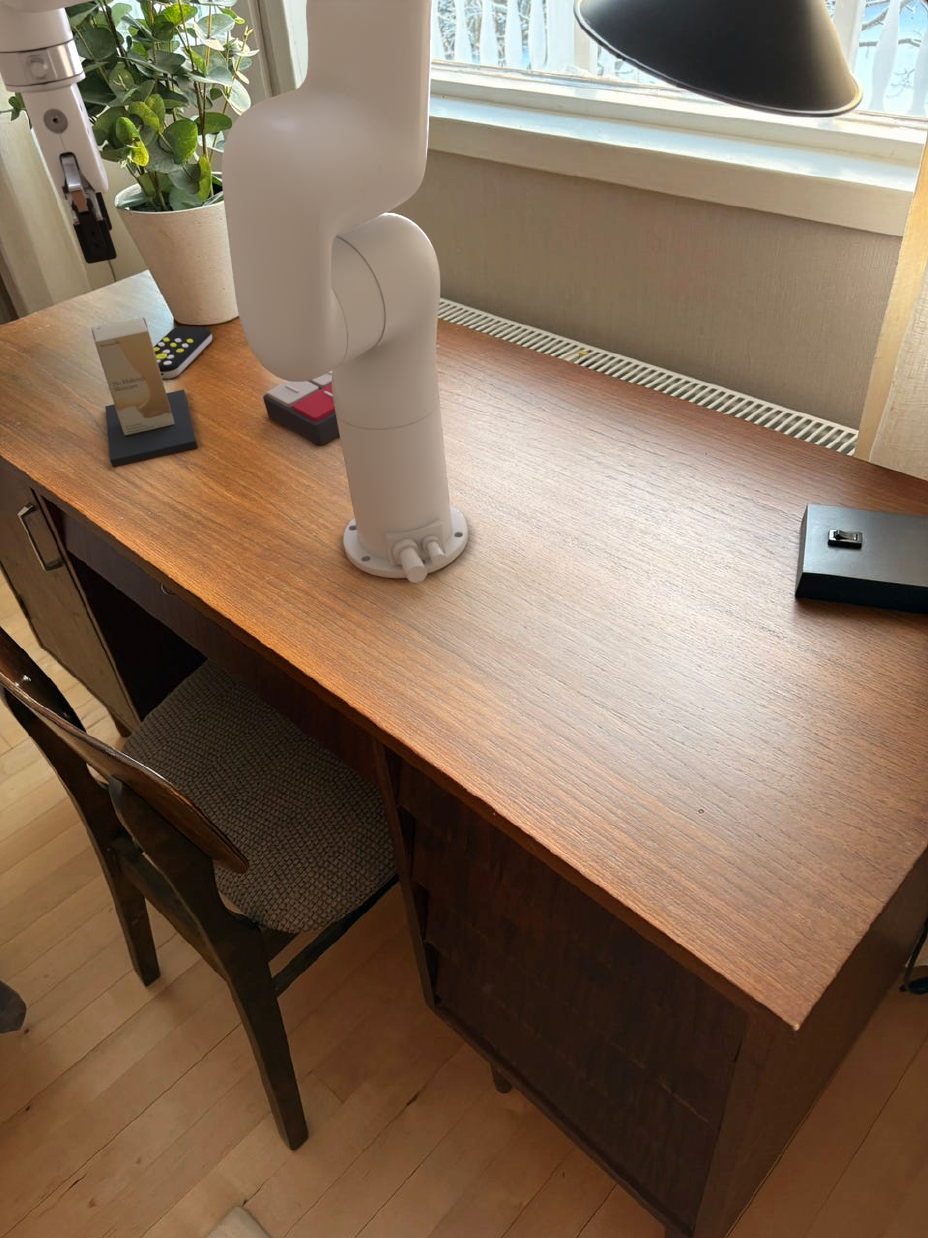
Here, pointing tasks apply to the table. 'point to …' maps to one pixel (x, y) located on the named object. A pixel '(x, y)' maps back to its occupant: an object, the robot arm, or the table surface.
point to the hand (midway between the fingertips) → (100, 245)
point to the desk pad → (151, 435)
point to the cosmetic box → (133, 375)
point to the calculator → (305, 408)
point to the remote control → (180, 349)
